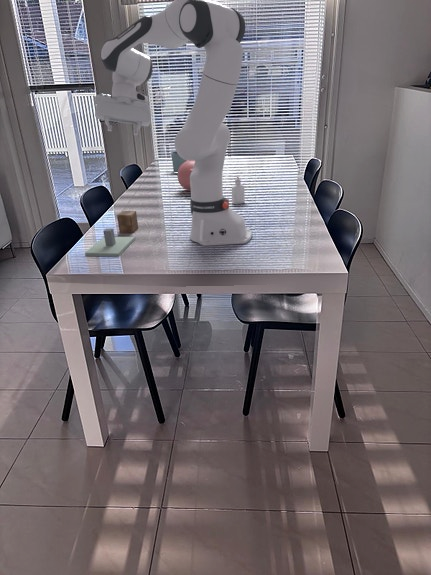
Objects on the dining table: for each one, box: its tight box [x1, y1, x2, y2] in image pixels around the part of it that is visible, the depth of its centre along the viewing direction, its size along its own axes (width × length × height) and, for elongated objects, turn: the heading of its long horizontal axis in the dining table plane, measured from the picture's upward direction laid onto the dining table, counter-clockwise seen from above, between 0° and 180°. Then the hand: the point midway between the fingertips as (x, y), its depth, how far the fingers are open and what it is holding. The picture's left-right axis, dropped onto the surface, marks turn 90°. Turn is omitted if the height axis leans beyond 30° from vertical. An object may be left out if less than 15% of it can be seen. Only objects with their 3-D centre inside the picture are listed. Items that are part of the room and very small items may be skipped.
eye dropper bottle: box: [231, 175, 246, 205], centre depth 191 cm, size 4×6×12 cm
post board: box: [84, 227, 136, 257], centre depth 149 cm, size 12×16×6 cm
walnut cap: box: [116, 210, 139, 234], centre depth 165 cm, size 6×6×7 cm
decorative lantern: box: [176, 160, 195, 192], centre depth 212 cm, size 15×20×15 cm
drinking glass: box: [170, 150, 188, 173], centre depth 260 cm, size 10×10×12 cm
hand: (122, 132), depth 157 cm, fingers open, 8 cm apart
